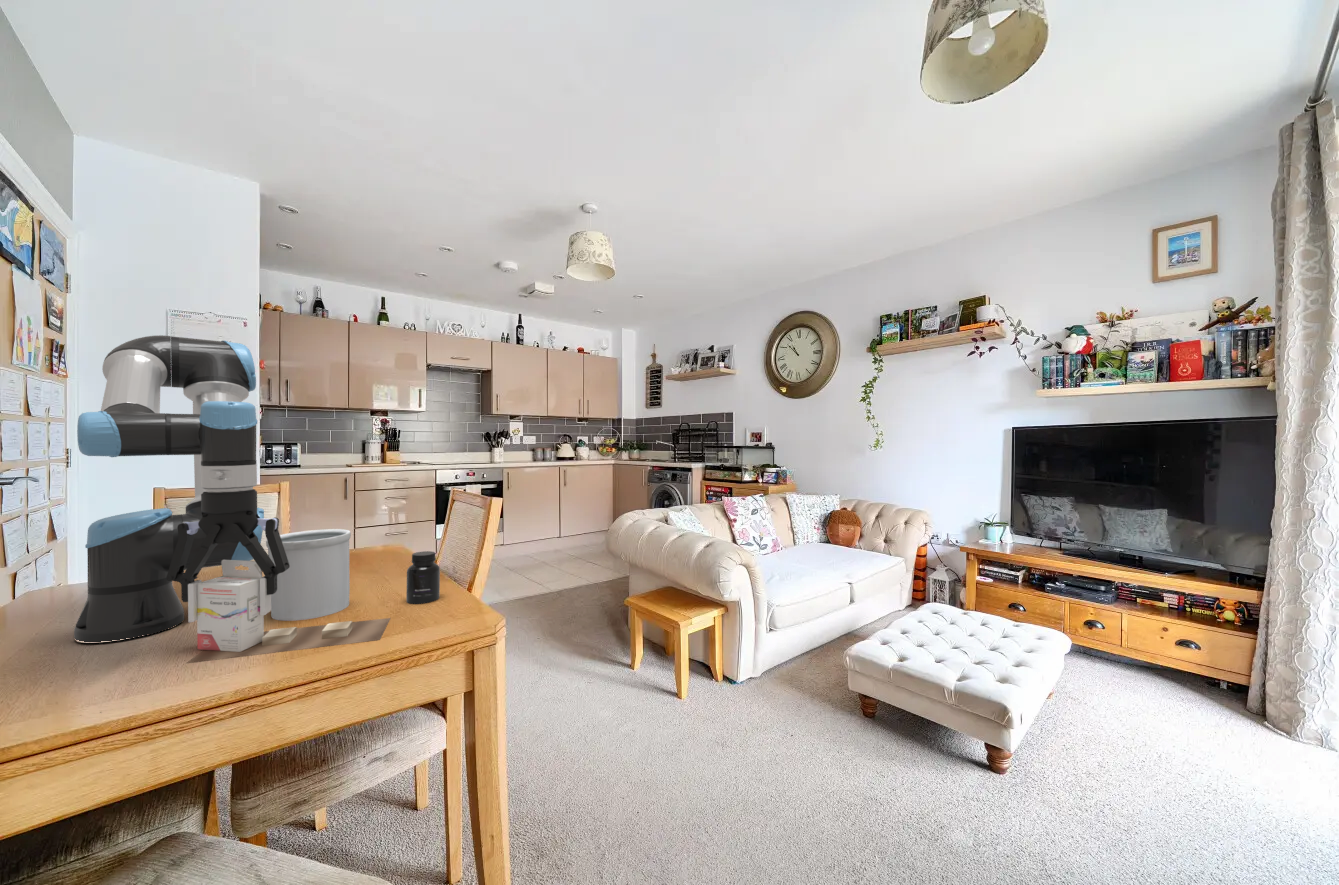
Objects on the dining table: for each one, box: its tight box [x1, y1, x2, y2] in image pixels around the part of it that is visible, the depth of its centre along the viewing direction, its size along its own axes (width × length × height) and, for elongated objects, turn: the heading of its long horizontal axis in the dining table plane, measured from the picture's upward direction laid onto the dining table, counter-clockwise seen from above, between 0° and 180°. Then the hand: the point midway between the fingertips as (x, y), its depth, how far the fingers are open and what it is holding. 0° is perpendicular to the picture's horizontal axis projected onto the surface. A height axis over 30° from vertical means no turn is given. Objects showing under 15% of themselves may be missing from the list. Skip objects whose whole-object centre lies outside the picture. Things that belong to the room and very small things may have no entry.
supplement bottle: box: [406, 550, 441, 605], centre depth 117 cm, size 7×7×12 cm
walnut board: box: [186, 617, 391, 664], centre depth 95 cm, size 28×12×2 cm, turn 110°
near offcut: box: [262, 626, 298, 646], centre depth 94 cm, size 4×4×2 cm
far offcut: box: [322, 620, 353, 639], centre depth 97 cm, size 4×4×2 cm
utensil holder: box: [265, 528, 351, 622], centre depth 110 cm, size 15×15×18 cm
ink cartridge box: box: [196, 560, 265, 652], centre depth 91 cm, size 9×5×15 cm, turn 84°
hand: (231, 616), depth 91 cm, fingers closed on ink cartridge box, 9 cm apart
